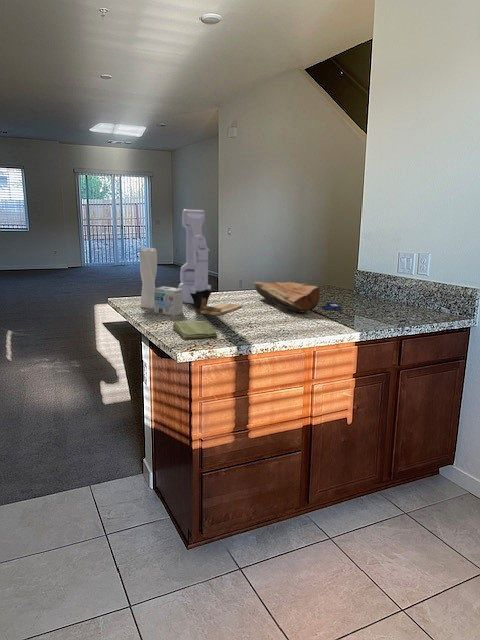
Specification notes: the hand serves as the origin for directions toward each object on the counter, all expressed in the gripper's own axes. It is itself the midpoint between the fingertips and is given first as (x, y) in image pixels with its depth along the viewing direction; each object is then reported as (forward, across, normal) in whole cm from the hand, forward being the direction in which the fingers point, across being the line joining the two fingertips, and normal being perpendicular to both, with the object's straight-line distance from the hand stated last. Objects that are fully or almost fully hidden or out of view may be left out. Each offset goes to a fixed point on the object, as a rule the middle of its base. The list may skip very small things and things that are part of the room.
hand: (200, 307), depth 207 cm
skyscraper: (+2, -5, +24) cm, 25 cm away
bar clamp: (+2, +35, -54) cm, 64 cm away
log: (+2, +35, -26) cm, 44 cm away
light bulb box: (+2, -11, +10) cm, 15 cm away
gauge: (+2, 0, -4) cm, 5 cm away
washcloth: (+2, -34, -17) cm, 38 cm away
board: (+2, +8, -6) cm, 10 cm away
